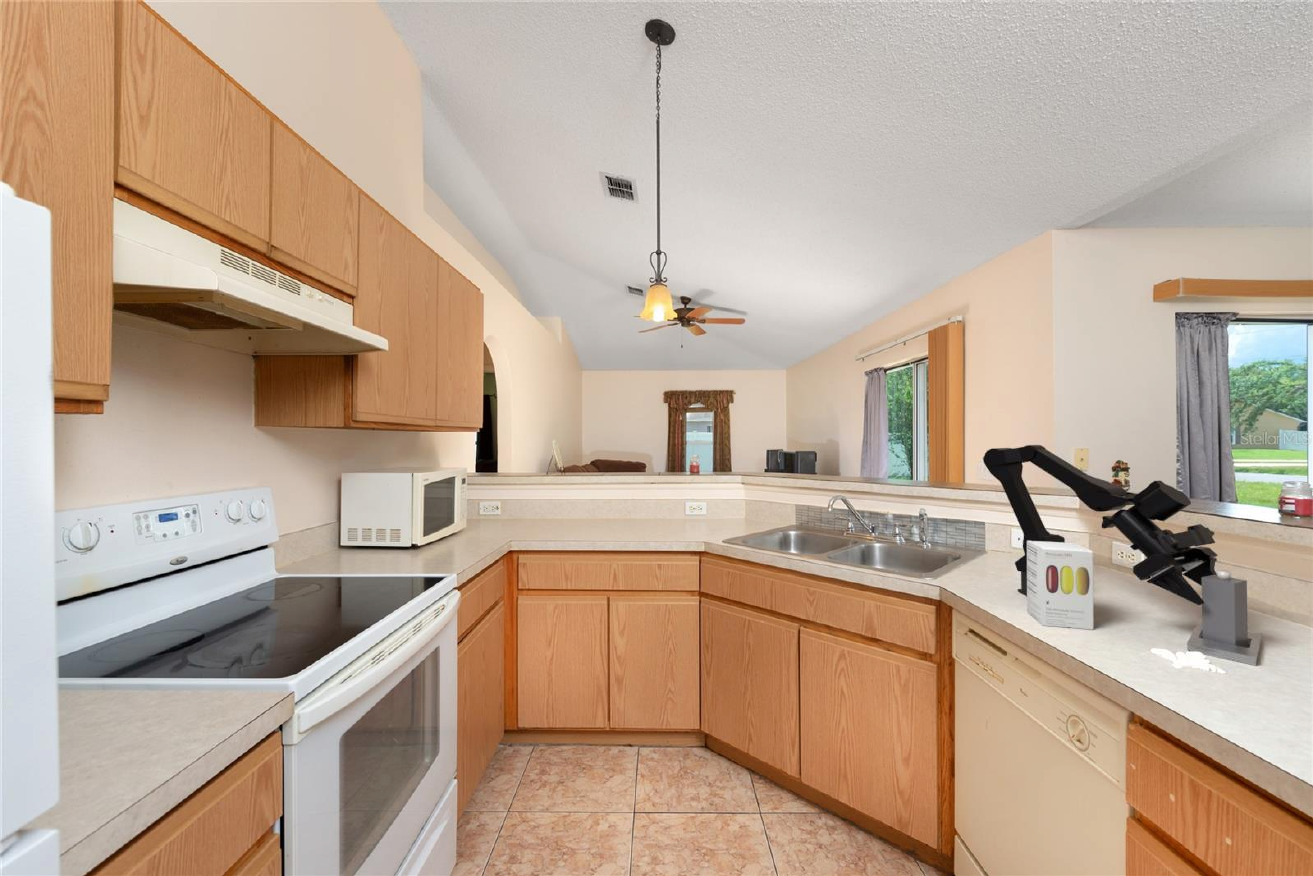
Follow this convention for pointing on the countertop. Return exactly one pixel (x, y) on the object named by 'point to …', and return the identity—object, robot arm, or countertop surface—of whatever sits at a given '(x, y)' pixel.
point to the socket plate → (1225, 647)
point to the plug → (1225, 609)
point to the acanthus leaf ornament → (1187, 660)
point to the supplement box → (1060, 584)
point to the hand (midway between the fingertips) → (1214, 601)
